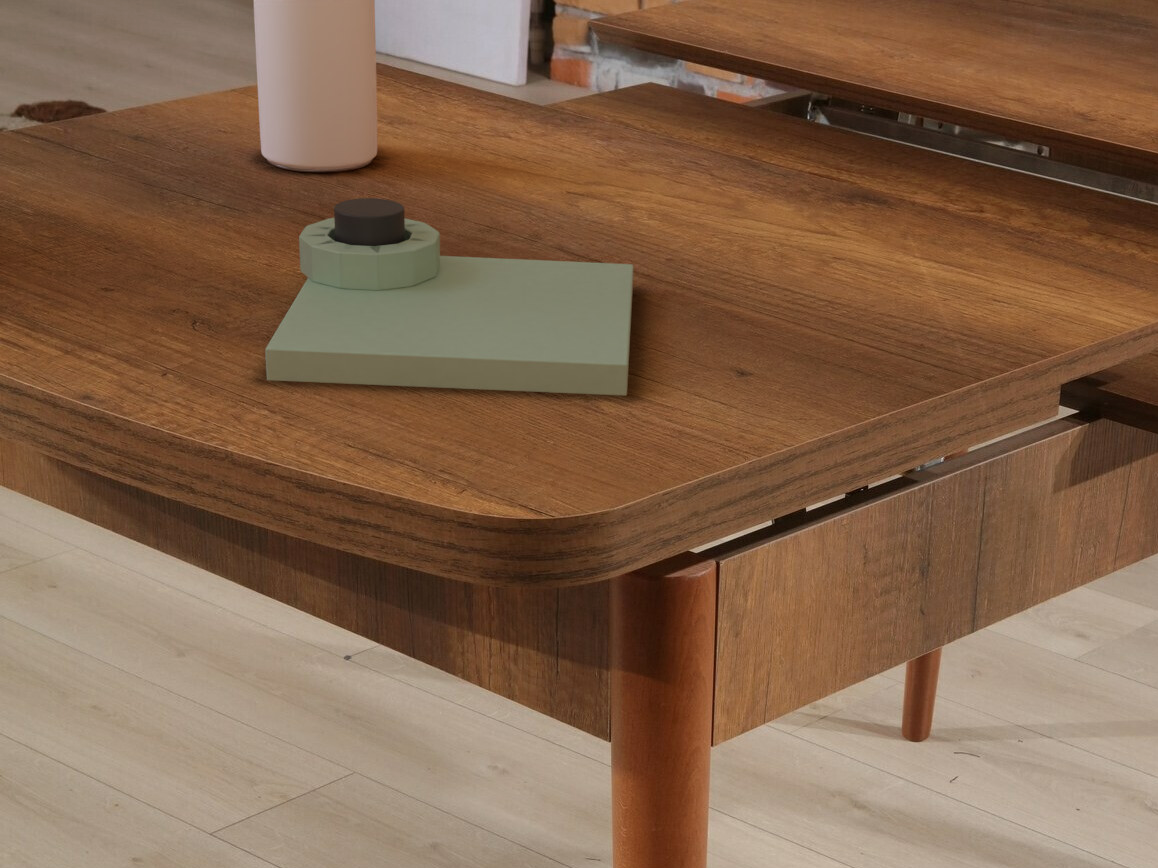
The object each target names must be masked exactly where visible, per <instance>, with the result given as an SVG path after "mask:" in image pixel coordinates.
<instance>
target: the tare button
mask: <svg viewBox="0 0 1158 868" xmlns="http://www.w3.org/2000/svg"><path fill="white" fill-rule="evenodd" d="M333 213H334V214H333V215H334V216H333V218H334V220H335V241H336V242H340V243H344V244H349V245H359V246H381V245H390V244H398V243H401V242H403V241H405V217H406V216H405V215H406V214H405V207H404V205H403V204H401V203H399V202H398V201H395V200H391V199H386V198H375V197H374V198H373V197H372V198H371V197H366V198H364V197H363V198H362V197H361V198H353V199H348V200H344V201H341V202H339V203H337V204H335V206H334V207H333Z"/></svg>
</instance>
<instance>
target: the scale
mask: <svg viewBox="0 0 1158 868" xmlns="http://www.w3.org/2000/svg"><path fill="white" fill-rule="evenodd" d="M298 245H299V247H298V248H299V269H300V270H299V271H300V272H301V273H302V274H303V275H304V276H305V277H307V278H306V280H305V282H304V284H303V285H302V287H301V288H300V291H299V292H298V293H297V296H296V297H295V299H294V300H293V302H292V304H291V305H290V307H289V309H288V310H287V312H286V314H285V315H284V317H283V318H282V320H281V322H280V324H279V325H278V327H277V329H276V330H275V332H274V334H273V336H272V337H271V338H270V340H269V342H268V344H267V345H266V347H265V351H264V352H265V370H266V380H267V381H277V382H299V383H321V384H323V383H325V384H347V385H366V386H367V385H369V386H371V385H372V386H392V387H393V386H395V387H413V388H415V387H418V388H420V387H421V388H437V389H440V388H441V389H442V388H443V389H464V390H487V391H507V392H509V391H510V392H511V391H512V392H535V393H557V394H580V395H603V396H605V395H606V396H625V397H626V396H627V395H628V385H629V384H628V381H629V365H630V363H629V362H630V345H631V327H632V312H633V311H632V310H633V309H632V308H633V290H634V267H635V266H634V264H632V263H612V262H588V261H568V260H566V261H564V260H547V259H546V260H544V259H523V258H501V257H499V258H498V257H497V258H495V257H476V256H456V255H455V256H452V255H441V233H440V232H439V230H437V229H435V228H434V227H433V226H431V225H430V224H428V223H426V222H423V221H419V220H414V219H410V218H405V241H403V242H401V243H398V244H390V245H381V246H359V245H349V244H344V243H340V242H336V241H335V220H334V217H330V218H325V219H323V220H320V221H317V222H314V223H311V224H307V225H306V226H304V228H303V230H302V231H301V233H300V234H299V236H298Z"/></svg>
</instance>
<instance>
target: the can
mask: <svg viewBox="0 0 1158 868" xmlns="http://www.w3.org/2000/svg"><path fill="white" fill-rule="evenodd" d="M375 5H376V1H375V0H253V18H254V19H253V22H254V39H255V40H254V41H255V43H254V44H255V62H256V81H257V82H256V83H257V100H258V101H257V102H258V119H259V137H260V138H259V139H260V152H261V155H262V156H263V158H265V159H266V161H267V163H268V164H270V165H272V166H273V167H276V168H278V169H282V170H287V171H291V172H300V173H315V174H316V173H317V174H318V173H321V174H322V173H341V172H348V171H353V170H354V171H355V170H359V169H362V168H364V167H367V166H369V164H371V163H372V162H373V159H374V158H375V157H376V156H377V155H378V98H377V97H378V94H377V93H378V92H377V89H378V87H377V48H376V47H377V45H376V42H377V41H376V40H377V39H376V7H375Z"/></svg>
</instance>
